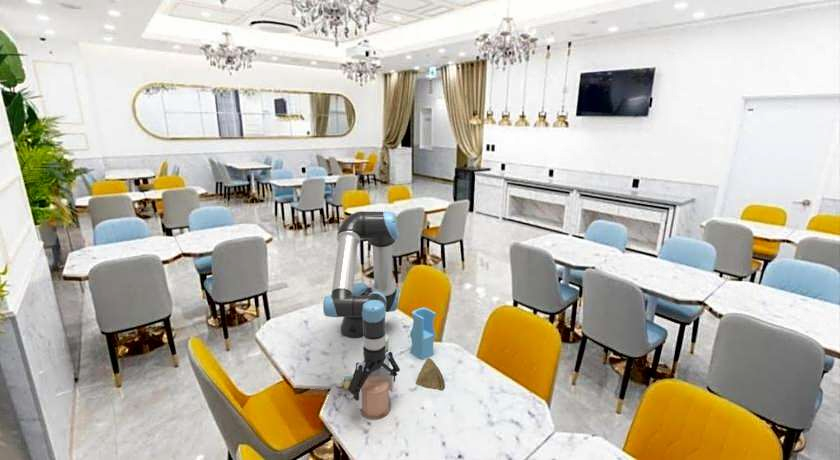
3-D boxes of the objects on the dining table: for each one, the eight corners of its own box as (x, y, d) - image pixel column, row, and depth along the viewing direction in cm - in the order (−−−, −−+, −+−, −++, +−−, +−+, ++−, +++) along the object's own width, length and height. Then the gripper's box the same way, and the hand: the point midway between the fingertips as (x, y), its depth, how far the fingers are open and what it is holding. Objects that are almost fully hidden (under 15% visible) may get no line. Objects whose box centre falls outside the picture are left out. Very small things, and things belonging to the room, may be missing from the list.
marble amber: (349, 384, 154) (348, 378, 154) (353, 388, 152) (352, 381, 151) (342, 388, 152) (342, 381, 152) (346, 391, 150) (346, 385, 149)
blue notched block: (421, 360, 171) (422, 318, 166) (410, 352, 176) (410, 311, 171) (435, 353, 176) (436, 312, 171) (423, 346, 182) (423, 306, 176)
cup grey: (380, 372, 163) (379, 352, 160) (393, 383, 156) (393, 362, 153) (361, 380, 157) (360, 360, 154) (374, 392, 150) (373, 371, 148)
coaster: (379, 394, 149) (379, 392, 149) (397, 409, 141) (397, 408, 141) (354, 406, 142) (354, 405, 142) (371, 424, 134) (371, 422, 134)
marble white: (341, 382, 155) (341, 376, 155) (345, 386, 153) (344, 379, 152) (334, 385, 154) (334, 379, 153) (338, 389, 151) (338, 383, 151)
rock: (452, 381, 154) (437, 365, 161) (444, 371, 148) (428, 356, 156) (433, 402, 151) (418, 385, 159) (424, 393, 146) (409, 377, 153)
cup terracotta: (393, 408, 141) (393, 385, 139) (371, 419, 135) (371, 396, 133) (378, 394, 148) (378, 373, 146) (357, 405, 142) (356, 383, 140)
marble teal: (349, 379, 158) (348, 372, 157) (353, 383, 155) (352, 376, 155) (342, 382, 156) (342, 375, 155) (346, 386, 154) (346, 379, 153)
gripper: (396, 329, 146) (396, 379, 151) (336, 353, 130) (338, 408, 136) (409, 337, 140) (409, 389, 146) (347, 363, 125) (350, 420, 130)
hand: (375, 398), depth 141 cm, fingers open, 13 cm apart
